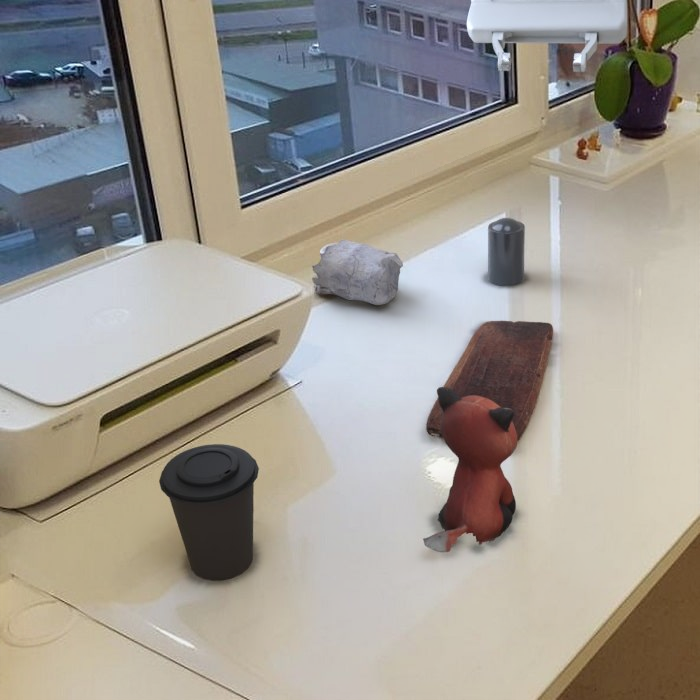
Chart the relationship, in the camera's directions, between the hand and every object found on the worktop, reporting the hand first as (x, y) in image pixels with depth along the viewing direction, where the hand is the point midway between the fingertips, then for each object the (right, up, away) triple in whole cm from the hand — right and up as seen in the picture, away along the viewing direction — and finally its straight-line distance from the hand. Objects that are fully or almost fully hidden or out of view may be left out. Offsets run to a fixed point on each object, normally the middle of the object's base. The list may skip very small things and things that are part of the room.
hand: (540, 69), depth 135 cm
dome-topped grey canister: (-4, -26, +3) cm, 27 cm away
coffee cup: (-35, -54, -44) cm, 77 cm away
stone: (-23, -29, +1) cm, 37 cm away
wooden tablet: (-8, -39, -20) cm, 44 cm away
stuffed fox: (-14, -51, -42) cm, 68 cm away
